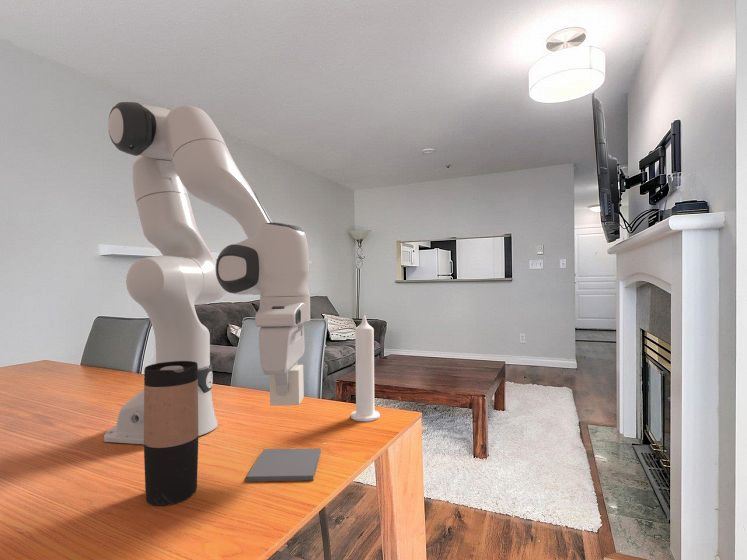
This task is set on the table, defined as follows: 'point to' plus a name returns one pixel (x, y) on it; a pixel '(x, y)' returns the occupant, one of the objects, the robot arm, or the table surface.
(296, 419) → the table surface
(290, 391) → the cream block
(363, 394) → the candle
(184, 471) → the travel mug
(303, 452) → the slate plate
